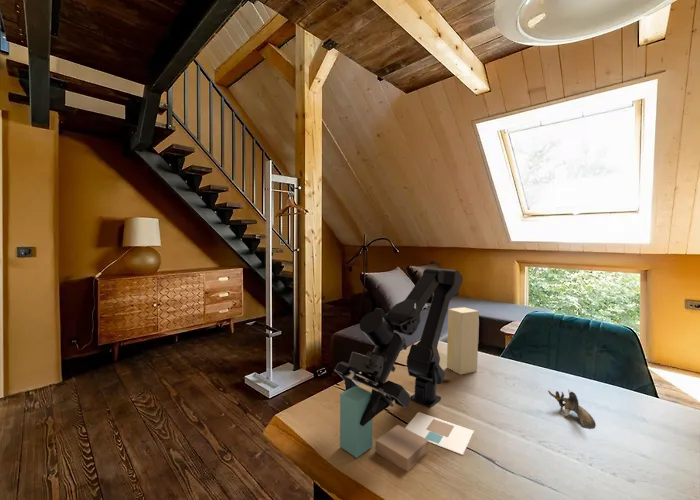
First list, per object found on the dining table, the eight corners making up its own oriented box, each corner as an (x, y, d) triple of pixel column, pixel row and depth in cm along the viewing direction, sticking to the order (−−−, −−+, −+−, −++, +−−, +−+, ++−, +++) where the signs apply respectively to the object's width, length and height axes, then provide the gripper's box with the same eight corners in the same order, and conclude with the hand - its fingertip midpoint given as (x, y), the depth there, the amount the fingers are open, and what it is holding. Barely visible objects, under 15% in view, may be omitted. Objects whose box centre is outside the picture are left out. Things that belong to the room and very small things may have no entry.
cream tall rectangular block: (461, 363, 116) (463, 306, 115) (477, 371, 110) (479, 310, 109) (444, 367, 113) (446, 308, 112) (460, 375, 106) (462, 313, 105)
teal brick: (355, 436, 73) (355, 385, 73) (372, 446, 70) (372, 393, 69) (339, 446, 70) (340, 393, 69) (356, 458, 66) (357, 401, 66)
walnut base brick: (397, 437, 74) (397, 424, 74) (428, 453, 69) (428, 440, 69) (375, 453, 68) (376, 440, 68) (407, 473, 63) (407, 458, 63)
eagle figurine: (541, 405, 86) (572, 418, 77) (552, 379, 88) (584, 389, 78) (564, 420, 87) (598, 435, 77) (574, 393, 88) (609, 405, 79)
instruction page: (418, 412, 84) (418, 411, 84) (474, 431, 76) (474, 430, 76) (402, 431, 76) (402, 431, 76) (462, 455, 68) (462, 454, 68)
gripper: (339, 328, 78) (303, 388, 71) (403, 348, 65) (367, 423, 58) (361, 351, 84) (330, 408, 77) (423, 374, 71) (393, 445, 64)
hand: (351, 419), depth 69 cm, fingers closed on teal brick, 5 cm apart
